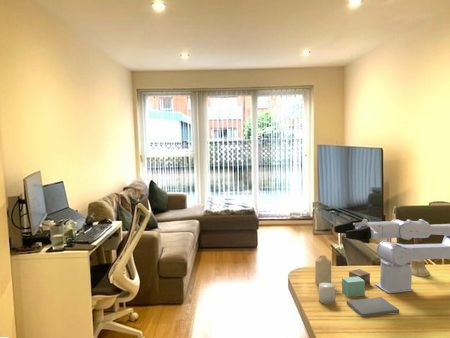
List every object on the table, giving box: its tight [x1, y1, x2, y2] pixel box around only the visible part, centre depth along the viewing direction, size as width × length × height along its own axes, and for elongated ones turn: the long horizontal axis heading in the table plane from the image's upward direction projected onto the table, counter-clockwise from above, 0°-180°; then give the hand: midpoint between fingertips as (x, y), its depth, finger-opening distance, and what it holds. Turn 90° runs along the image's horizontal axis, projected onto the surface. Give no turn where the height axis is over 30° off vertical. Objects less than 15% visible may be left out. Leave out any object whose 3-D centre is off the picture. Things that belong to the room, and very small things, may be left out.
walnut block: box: [348, 268, 371, 286], centre depth 132 cm, size 5×5×4 cm
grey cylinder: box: [318, 282, 336, 305], centre depth 118 cm, size 5×5×5 cm
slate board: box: [346, 296, 400, 318], centre depth 112 cm, size 12×9×1 cm
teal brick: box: [341, 276, 366, 298], centre depth 123 cm, size 6×4×5 cm, turn 101°
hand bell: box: [409, 238, 430, 277], centre depth 140 cm, size 8×8×16 cm
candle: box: [314, 255, 332, 286], centre depth 131 cm, size 6×6×10 cm
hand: (340, 231), depth 121 cm, fingers open, 7 cm apart
